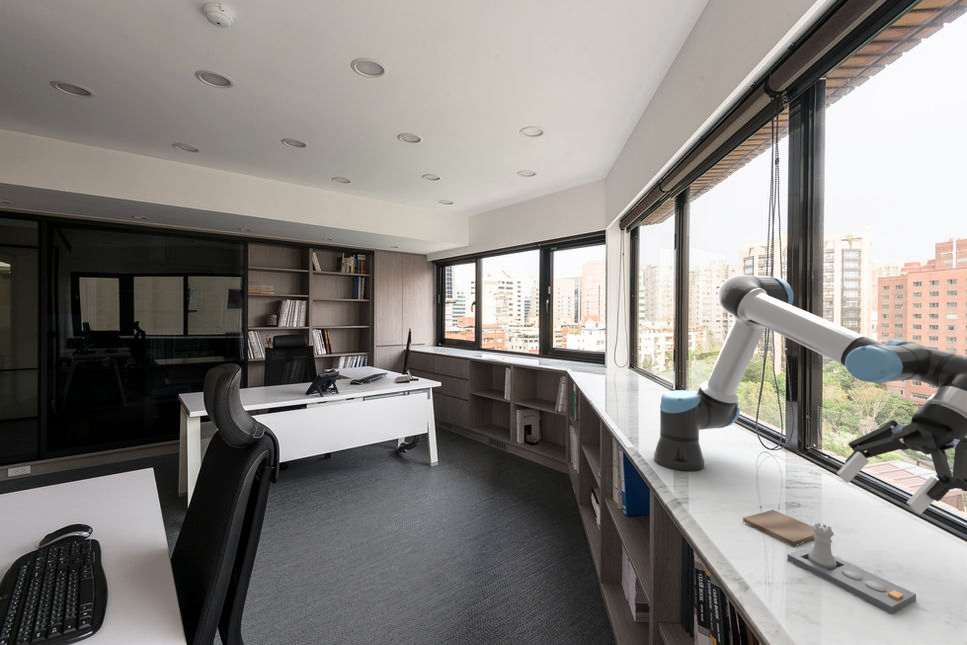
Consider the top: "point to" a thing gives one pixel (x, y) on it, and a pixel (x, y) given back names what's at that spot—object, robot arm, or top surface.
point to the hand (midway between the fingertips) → (874, 492)
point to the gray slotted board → (857, 582)
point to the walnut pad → (781, 527)
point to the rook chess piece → (822, 548)
